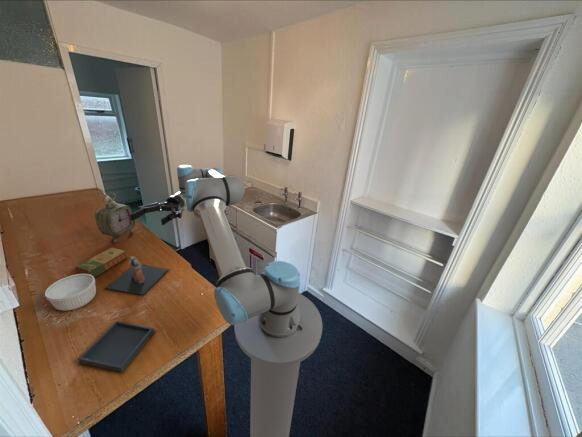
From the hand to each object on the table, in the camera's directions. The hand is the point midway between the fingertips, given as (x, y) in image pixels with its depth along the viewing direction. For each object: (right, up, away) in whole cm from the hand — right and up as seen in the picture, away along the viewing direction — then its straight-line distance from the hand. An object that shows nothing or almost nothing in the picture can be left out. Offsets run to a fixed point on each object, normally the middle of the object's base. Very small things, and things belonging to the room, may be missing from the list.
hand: (146, 219), depth 95 cm
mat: (-5, -25, +3) cm, 26 cm away
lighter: (-5, -25, +3) cm, 25 cm away
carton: (-25, -21, +9) cm, 33 cm away
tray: (+7, -39, -24) cm, 46 cm away
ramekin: (-20, -30, -9) cm, 37 cm away
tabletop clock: (-34, -10, +30) cm, 46 cm away
